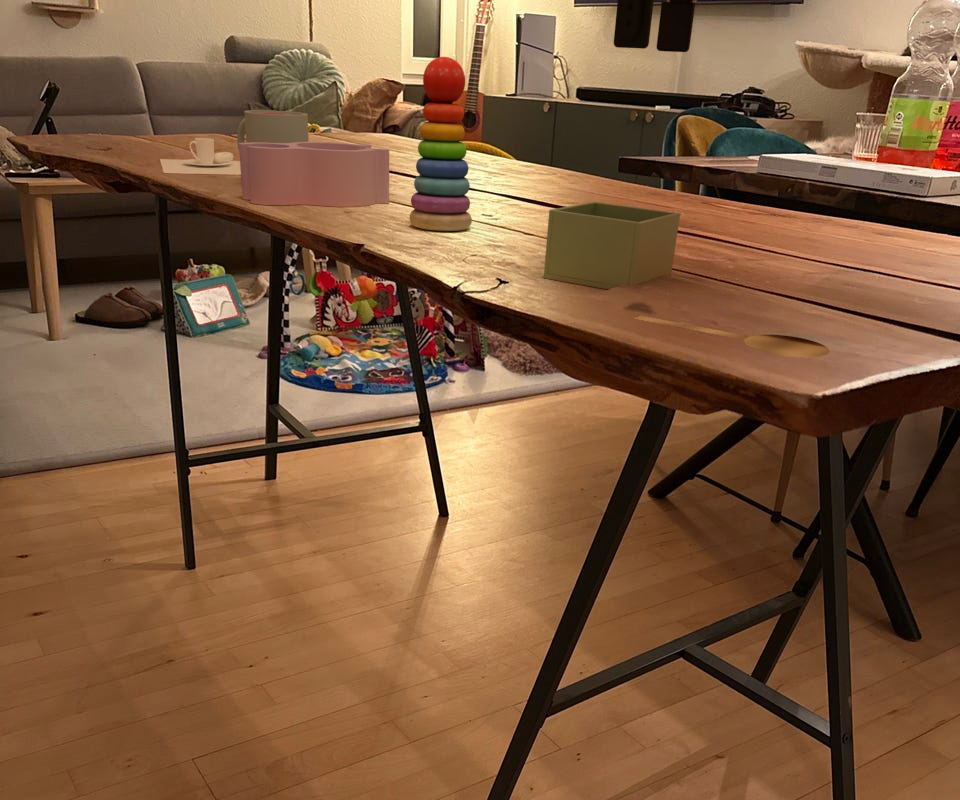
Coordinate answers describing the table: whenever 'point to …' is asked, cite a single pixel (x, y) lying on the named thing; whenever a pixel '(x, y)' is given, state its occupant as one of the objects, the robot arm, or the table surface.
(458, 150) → the stacking toy
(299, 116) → the mug
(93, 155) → the table surface
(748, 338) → the spoon
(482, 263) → the table surface
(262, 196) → the pink twin-well planter
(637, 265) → the open top crate
